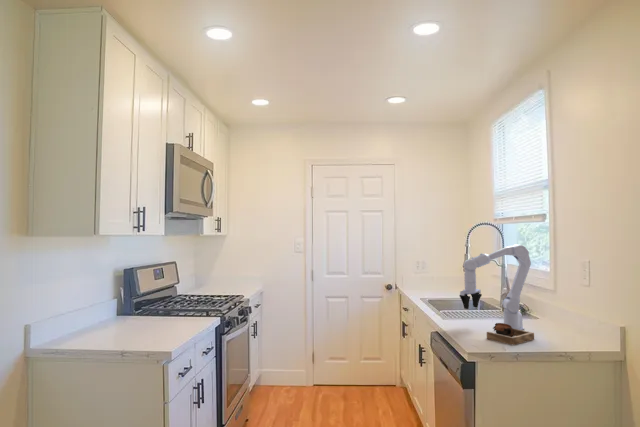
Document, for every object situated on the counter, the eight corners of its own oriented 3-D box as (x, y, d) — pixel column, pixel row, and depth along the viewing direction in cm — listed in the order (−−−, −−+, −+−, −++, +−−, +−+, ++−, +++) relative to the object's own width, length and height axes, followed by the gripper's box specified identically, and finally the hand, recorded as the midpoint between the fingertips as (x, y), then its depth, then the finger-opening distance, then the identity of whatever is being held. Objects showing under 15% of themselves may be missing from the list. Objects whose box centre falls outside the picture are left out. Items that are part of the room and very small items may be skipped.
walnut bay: (507, 333, 205) (507, 327, 205) (534, 339, 194) (534, 332, 194) (486, 338, 195) (486, 332, 196) (513, 345, 184) (513, 338, 184)
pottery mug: (487, 338, 197) (489, 322, 201) (501, 345, 200) (503, 329, 203) (507, 338, 187) (509, 320, 190) (522, 345, 189) (523, 328, 193)
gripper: (472, 280, 225) (473, 305, 224) (455, 282, 217) (455, 308, 216) (483, 281, 219) (484, 307, 218) (466, 283, 211) (467, 310, 211)
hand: (470, 307), depth 217 cm, fingers open, 7 cm apart
